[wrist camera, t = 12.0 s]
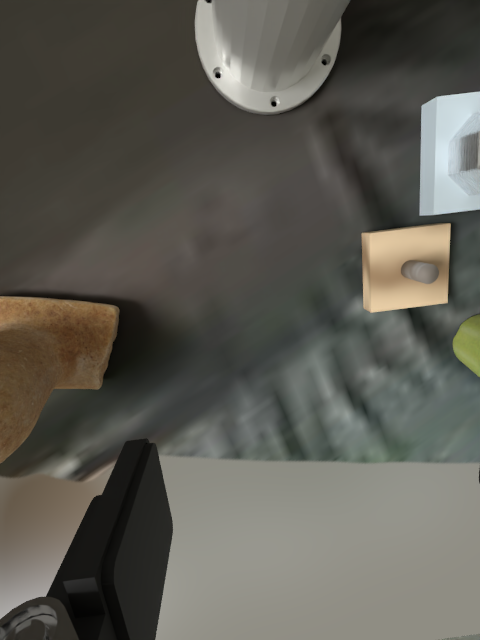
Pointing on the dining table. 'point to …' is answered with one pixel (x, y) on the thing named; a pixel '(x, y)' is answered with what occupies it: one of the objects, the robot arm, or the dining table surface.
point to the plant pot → (469, 343)
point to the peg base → (443, 154)
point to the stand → (405, 267)
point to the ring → (466, 156)
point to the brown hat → (48, 356)
